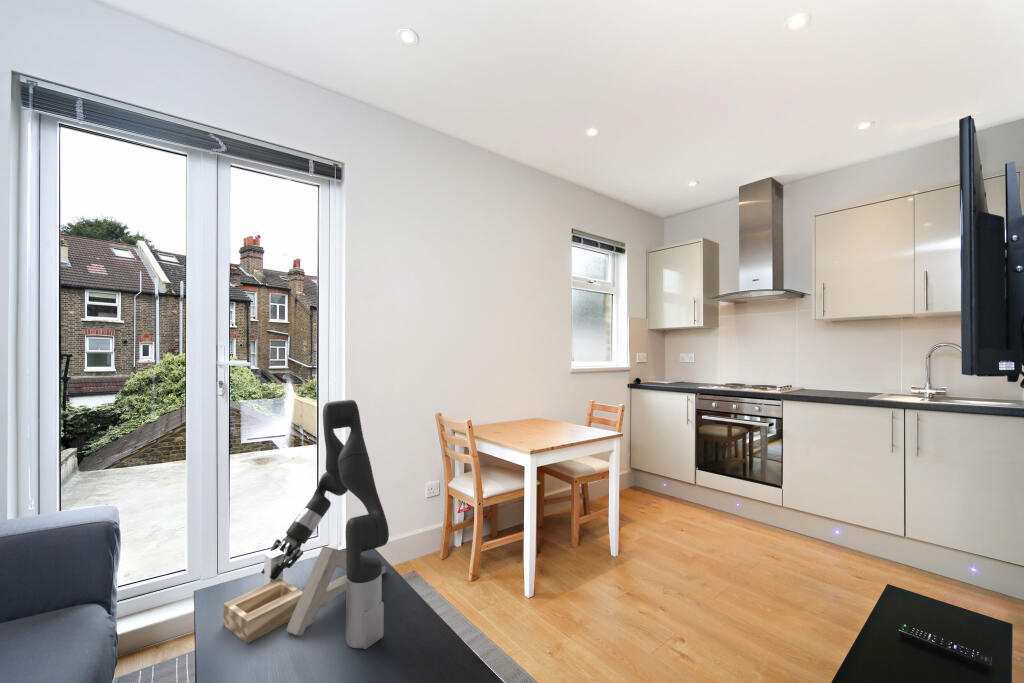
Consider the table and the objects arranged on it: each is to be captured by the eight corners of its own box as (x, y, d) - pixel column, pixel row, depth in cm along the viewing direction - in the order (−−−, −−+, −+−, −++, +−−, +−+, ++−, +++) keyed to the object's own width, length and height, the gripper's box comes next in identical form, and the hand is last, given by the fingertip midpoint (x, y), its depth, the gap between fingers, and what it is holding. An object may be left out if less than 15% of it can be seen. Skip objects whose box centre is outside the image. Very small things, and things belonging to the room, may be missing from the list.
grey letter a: (360, 642, 137) (296, 635, 115) (349, 638, 139) (285, 631, 117) (386, 567, 150) (333, 548, 127) (376, 565, 151) (323, 545, 129)
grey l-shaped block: (282, 592, 137) (283, 552, 137) (249, 608, 129) (251, 566, 129) (275, 587, 139) (277, 548, 139) (243, 602, 131) (244, 561, 131)
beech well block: (303, 612, 127) (304, 592, 127) (247, 643, 113) (247, 621, 113) (279, 597, 134) (279, 578, 135) (223, 624, 121) (223, 603, 121)
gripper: (285, 515, 147) (248, 565, 137) (309, 525, 139) (271, 578, 129) (300, 525, 151) (264, 574, 141) (323, 535, 144) (288, 587, 133)
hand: (268, 576), depth 135 cm, fingers open, 4 cm apart
